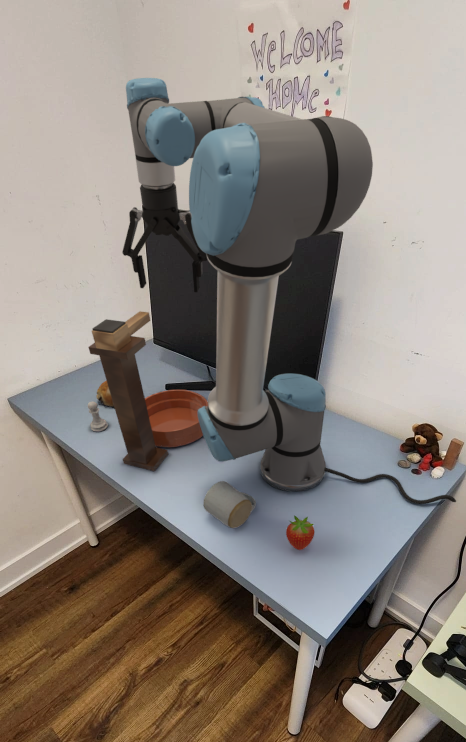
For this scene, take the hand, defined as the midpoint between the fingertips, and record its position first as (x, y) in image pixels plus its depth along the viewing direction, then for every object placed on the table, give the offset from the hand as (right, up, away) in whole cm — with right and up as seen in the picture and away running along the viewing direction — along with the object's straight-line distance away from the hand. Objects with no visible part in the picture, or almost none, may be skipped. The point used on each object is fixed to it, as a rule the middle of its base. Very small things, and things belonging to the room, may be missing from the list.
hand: (170, 287), depth 104 cm
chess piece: (-22, -32, +14) cm, 41 cm away
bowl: (-1, -32, +12) cm, 34 cm away
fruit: (+29, -62, -19) cm, 71 cm away
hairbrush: (-6, -18, -16) cm, 25 cm away
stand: (-6, -42, +3) cm, 43 cm away
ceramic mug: (+16, -55, -12) cm, 59 cm away
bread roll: (-20, -22, +24) cm, 38 cm away
